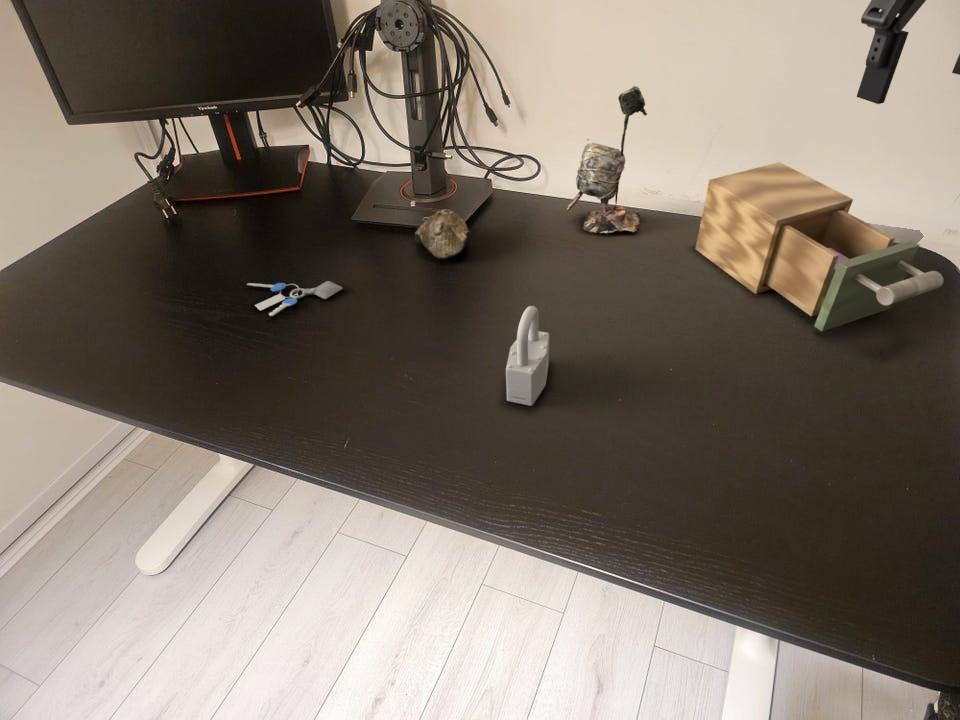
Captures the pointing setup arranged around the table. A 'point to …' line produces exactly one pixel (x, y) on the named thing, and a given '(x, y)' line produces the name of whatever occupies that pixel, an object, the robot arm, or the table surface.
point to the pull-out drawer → (843, 268)
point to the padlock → (527, 360)
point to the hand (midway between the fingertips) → (918, 87)
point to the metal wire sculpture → (608, 175)
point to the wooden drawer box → (758, 217)
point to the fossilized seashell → (443, 234)
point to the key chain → (321, 291)
